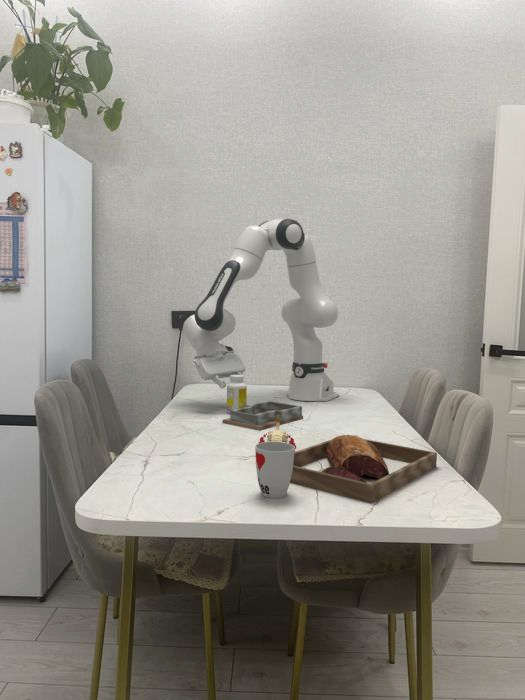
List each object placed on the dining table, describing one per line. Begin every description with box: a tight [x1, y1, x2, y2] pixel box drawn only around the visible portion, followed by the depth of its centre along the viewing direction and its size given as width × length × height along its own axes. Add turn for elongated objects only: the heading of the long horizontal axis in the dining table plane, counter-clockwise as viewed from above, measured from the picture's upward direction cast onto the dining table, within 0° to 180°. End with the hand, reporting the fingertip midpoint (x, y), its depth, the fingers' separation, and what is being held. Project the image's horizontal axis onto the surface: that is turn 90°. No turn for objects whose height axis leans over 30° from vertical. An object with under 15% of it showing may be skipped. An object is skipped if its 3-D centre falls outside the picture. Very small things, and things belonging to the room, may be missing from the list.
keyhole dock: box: [221, 400, 304, 431], centre depth 192 cm, size 23×15×4 cm, turn 142°
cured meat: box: [320, 434, 390, 483], centre depth 139 cm, size 18×25×7 cm
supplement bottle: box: [226, 374, 248, 415], centre depth 204 cm, size 7×7×13 cm
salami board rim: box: [290, 438, 438, 504], centre depth 140 cm, size 33×26×4 cm
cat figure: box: [258, 415, 297, 452], centre depth 156 cm, size 10×9×25 cm
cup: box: [254, 441, 296, 499], centre depth 123 cm, size 8×8×10 cm
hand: (233, 385), depth 204 cm, fingers open, 8 cm apart
